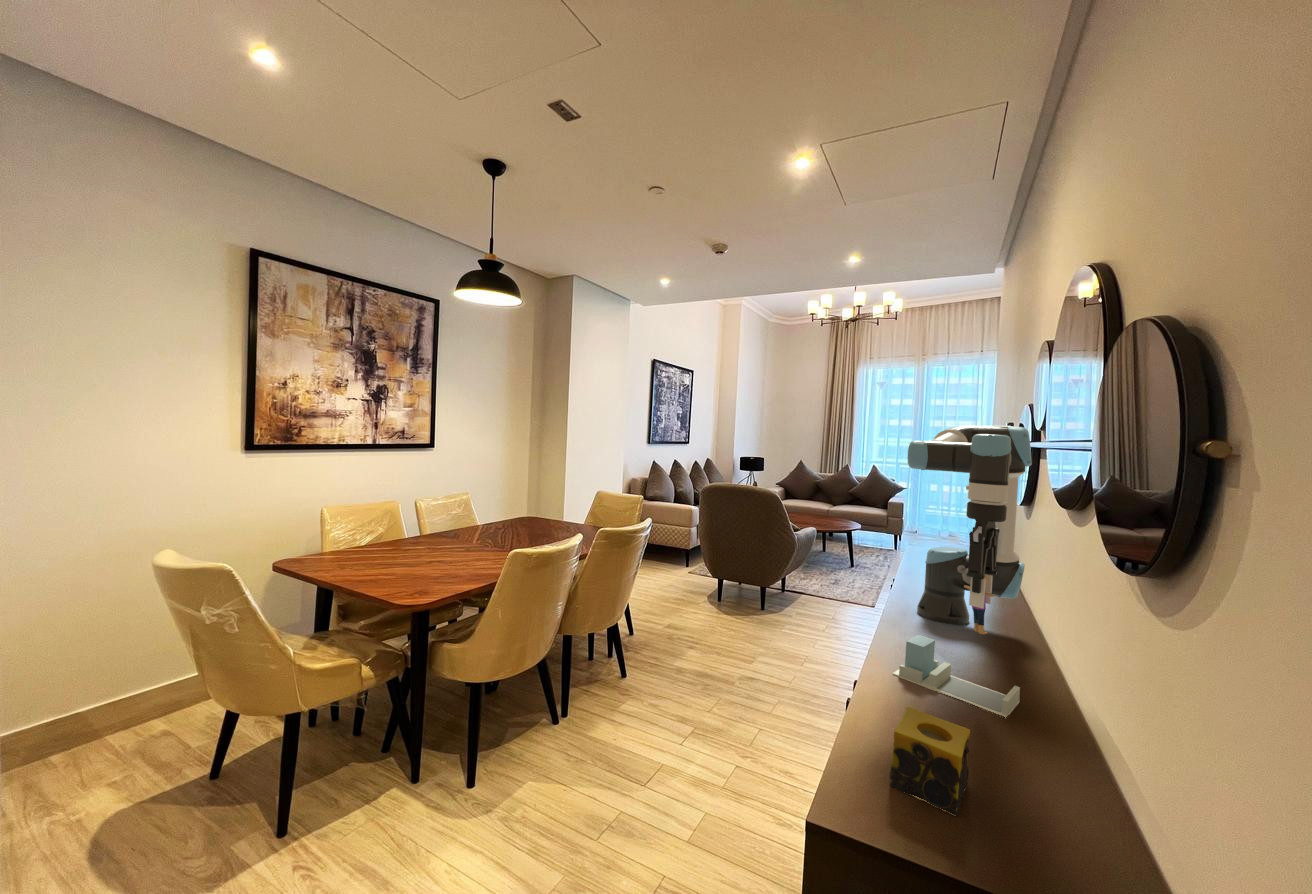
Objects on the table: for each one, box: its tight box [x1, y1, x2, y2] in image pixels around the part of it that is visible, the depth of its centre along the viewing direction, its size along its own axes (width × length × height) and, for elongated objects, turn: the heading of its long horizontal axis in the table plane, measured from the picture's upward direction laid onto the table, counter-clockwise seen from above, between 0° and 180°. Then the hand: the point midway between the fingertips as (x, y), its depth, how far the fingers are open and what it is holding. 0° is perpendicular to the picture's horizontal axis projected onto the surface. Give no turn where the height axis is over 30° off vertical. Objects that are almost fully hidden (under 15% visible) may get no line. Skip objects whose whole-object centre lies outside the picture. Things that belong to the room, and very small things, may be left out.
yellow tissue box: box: [889, 706, 971, 816], centre depth 83 cm, size 10×10×10 cm
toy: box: [957, 565, 995, 635], centre depth 115 cm, size 10×6×15 cm, turn 0°
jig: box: [892, 659, 1021, 719], centre depth 118 cm, size 11×24×4 cm, turn 42°
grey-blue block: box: [904, 634, 936, 679], centre depth 124 cm, size 7×4×8 cm, turn 131°
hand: (980, 604), depth 114 cm, fingers closed on toy, 4 cm apart
